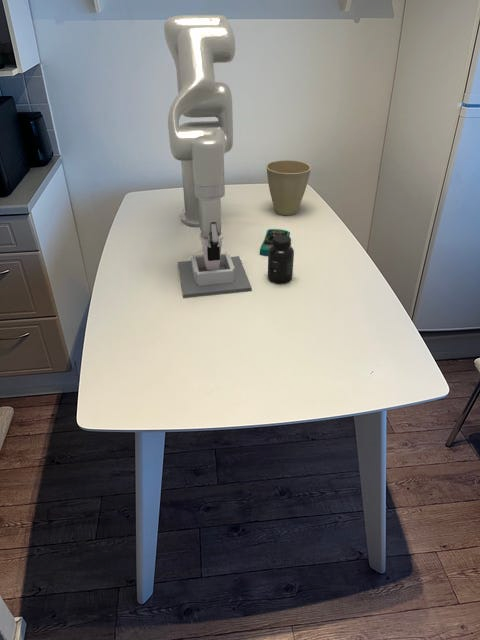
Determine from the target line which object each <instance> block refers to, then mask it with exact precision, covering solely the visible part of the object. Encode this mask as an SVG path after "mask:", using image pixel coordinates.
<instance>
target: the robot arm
mask: <svg viewBox="0 0 480 640" xmlns="http://www.w3.org/2000/svg"><path fill="white" fill-rule="evenodd" d="M164 21H165V22H164V24H163V31H164V32H163V33H164V37H165V41H166V45H167V47H168V51H169V52H170V54H171V56H172V59H173V62H174V65H175V70H176V84H177V95H176V96H175V98H174V99H173V101H172V103H171V105H170V107H169V112H168V115H167V129H168V138H169V139H168V141H169V149H170V152H171V155H172V156H173V158H174V159H175V160H177V161H179V162H180V163H181V172H182V173H181V176H182V186H183V187H182V188H183V200H184V201H183V202H184V203H183V204H184V213H182V214H181V216H180V221H181V222H182V223H183V224H184V225H186V226H191V227H199V231H200V233H201V234H202V236H203V237H204V238H205V237H208V246H207V253H208V261H215V260H220V246H219V236H220V235H221V232H222V205H221V204H222V201H221V198H224V197H225V195H226V194H225V193H226V188H225V185H226V184H225V183H226V182H225V154H226V153H229V152H230V151H231V150H232V148H233V144H234V125H233V124H234V122H233V121H234V120H233V118H234V117H233V113H234V111H233V96H232V91H231V88H230V87H229V85H228V84H227V83H226V82H221V81H216V78H215V76H216V75H215V70H214V69H215V67H214V64H219V63H223V64H225V63H230V62H232V61H233V60H234V58H235V54H236V40H235V34H234V31H233V29H232V28H233V27H232V26H231V24H230V21H229V20H228V18H227V17H226V16H225V15H222V14H221V15H220V14H201V15H200V14H188V15H187V14H185V15H175V16H171V17H168V18H166V20H164ZM182 115H183V116H184V118H185V117H186V118H191V119H193V118H194V119H195V118H198V119H199V118H217V120H209V121H203V120H202V121H189V122H185V123H182V124H180V118H181V116H182ZM209 233H212V235H209ZM218 235H219V236H218ZM210 238H212V240H211V242H210Z"/></svg>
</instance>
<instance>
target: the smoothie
mask: <svg viewBox="0 0 480 640" xmlns="http://www.w3.org/2000/svg"><path fill="white" fill-rule="evenodd" d="M209 235H212V233H209ZM218 236H219V235H218ZM224 237H225V236H224V233H223V232H222V231H221V235H220V236H219V246H220V256H221V253H222V245H223V240H224ZM198 239H199V241H200V242H201V243H200V244H201V249H202V255H204V260H205V266H206V269H208V270H217V269H219V265H220V260H215V261H208V253H207V246H208V237H205V238H204V237H203V236H202V234H201V232H200V233H199V237H198ZM211 240H212V238H210V242H211Z"/></svg>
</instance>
